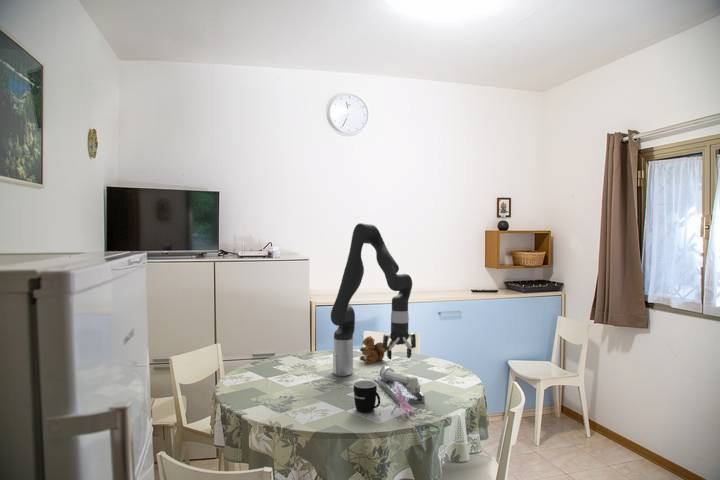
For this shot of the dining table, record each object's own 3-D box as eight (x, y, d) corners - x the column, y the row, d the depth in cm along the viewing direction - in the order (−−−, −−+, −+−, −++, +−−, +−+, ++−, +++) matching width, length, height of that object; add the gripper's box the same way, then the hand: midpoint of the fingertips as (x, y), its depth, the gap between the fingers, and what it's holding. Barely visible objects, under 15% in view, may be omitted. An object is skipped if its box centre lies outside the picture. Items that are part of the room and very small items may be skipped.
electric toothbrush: (387, 368, 206) (422, 375, 185) (388, 383, 205) (423, 391, 184) (378, 369, 203) (412, 377, 182) (379, 385, 202) (413, 394, 181)
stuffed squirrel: (358, 359, 245) (358, 334, 245) (383, 357, 248) (383, 333, 248) (362, 364, 236) (362, 339, 235) (388, 362, 238) (388, 337, 238)
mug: (348, 410, 174) (348, 384, 174) (364, 403, 181) (364, 378, 181) (371, 419, 166) (371, 391, 166) (387, 411, 173) (387, 385, 172)
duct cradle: (424, 402, 182) (424, 386, 182) (399, 405, 179) (399, 389, 179) (396, 377, 213) (396, 364, 213) (374, 380, 210) (374, 366, 210)
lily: (396, 426, 162) (409, 404, 161) (375, 405, 170) (387, 384, 169) (413, 426, 171) (426, 404, 170) (392, 406, 179) (404, 385, 178)
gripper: (411, 318, 198) (411, 354, 199) (381, 319, 195) (380, 356, 195) (418, 321, 191) (417, 359, 192) (386, 323, 187) (386, 361, 188)
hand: (399, 358), depth 193 cm, fingers open, 8 cm apart
